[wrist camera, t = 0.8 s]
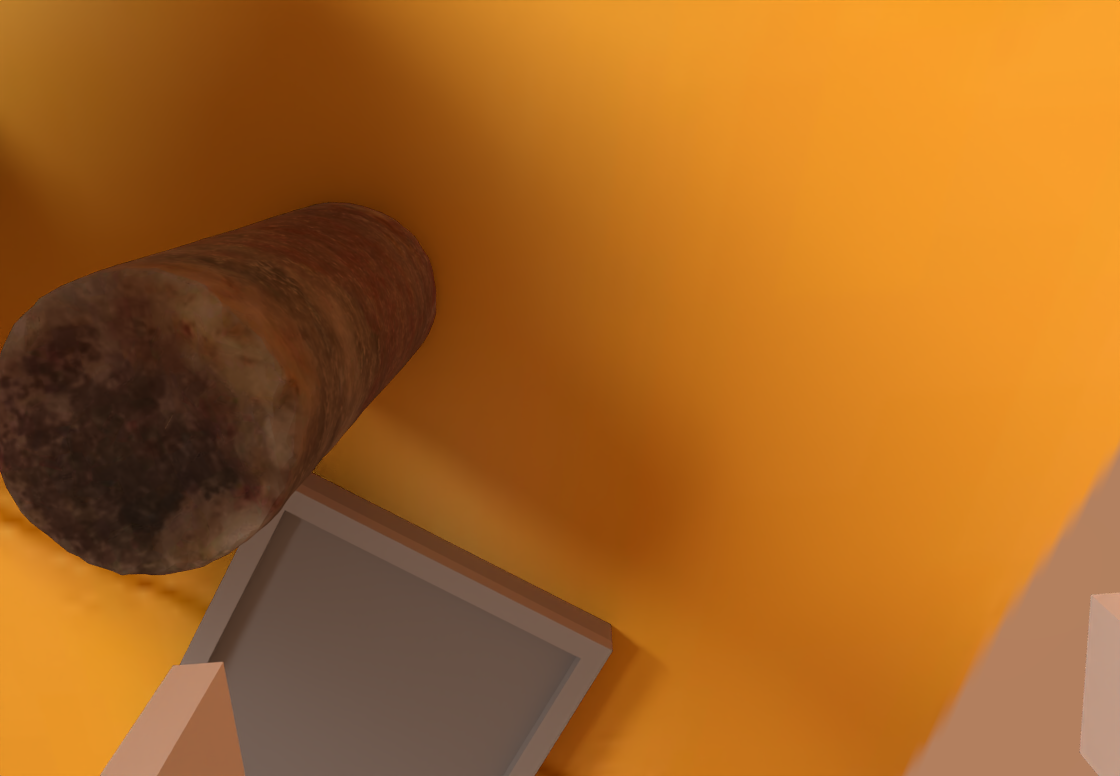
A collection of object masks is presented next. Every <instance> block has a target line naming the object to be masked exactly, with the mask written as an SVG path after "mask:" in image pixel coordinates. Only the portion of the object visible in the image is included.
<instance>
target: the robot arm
mask: <svg viewBox="0 0 1120 776" xmlns="http://www.w3.org/2000/svg"><path fill="white" fill-rule="evenodd" d="M1080 754H1081V755H1082V756H1083V757H1084V759H1085V760H1086V761H1087V762H1088V763H1089V765H1090V766H1091V767H1092V768H1093V769H1094V771H1095V772H1096V773H1097V774H1098V776H1120V593H1108V594H1094V595H1091V600H1090V614H1089V628H1088V643H1087V655H1086V669H1085V683H1084V697H1083V711H1082V725H1081V739H1080ZM100 776H245V772H244V767H243V761H242V756H241V751H240V746H239V741H238V736H237V730H236V725H235V720H234V715H233V710H232V705H231V699H230V694H229V689H228V684H227V679H226V673H225V668H224V663H223V662H213V663H200V664H187V665H174V666H172V668H171V669H170V671H169V672H168V674H167V675H166V677H165V678H164V680H163V681H162V683H161V684H160V686H159V687H158V689H157V690H156V692H155V694H154V695H153V697H152V698H151V700H150V701H149V703H148V704H147V706H146V707H145V709H144V710H143V712H142V713H141V715H140V716H139V718H138V719H137V721H136V722H135V724H134V725H133V727H132V728H131V730H130V731H129V733H128V734H127V736H126V737H125V739H124V740H123V742H122V743H121V745H120V746H119V748H118V749H117V751H116V752H115V754H114V755H113V757H112V758H111V760H110V761H109V763H108V764H107V766H106V767H105V769H104V770H103V772H102V773H101V775H100Z"/></svg>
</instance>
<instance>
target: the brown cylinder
mask: <svg viewBox="0 0 1120 776" xmlns="http://www.w3.org/2000/svg"><path fill="white" fill-rule="evenodd" d="M435 314H436V288H435V282H434V276H433V270H432V267H431V263H430V260H429V257H428V256H427V255H426V253H425V252H424V250H423V249H422V247H421V246H420V244H419V242H418V241H417V239H416V238H415V236H414V235H413V234H412V233H410V232H409V231H408V230H407V229H406V228H404V227H403V226H402V225H400V224H399V223H398V222H397V221H396V220H394V219H393V218H391V217H389V216H387V215H385V214H383V213H381V212H378V211H375V210H372V209H370V208H367V207H364V206H360V205H355V204H350V203H332V202H328V203H321V204H315V205H312V206H309V207H306V208H302V209H298V210H294V211H291V212H289V213H286V214H282V215H279V216H275V217H272V218H269V219H266V220H263V221H260V222H257V223H254V224H251V225H248V226H245V227H242V228H239V229H236V230H233V231H229V232H226V233H223V234H219V235H216V236H213V237H209V238H205V239H202V240H199V241H196V242H193V243H190V244H187V245H184V246H180V247H177V248H174V249H170V250H167V251H164V252H161V253H157V254H154V255H150V256H147V257H143V258H140V259H137V260H133V261H130V262H126V263H123V264H119V265H116V266H113V267H110V268H106V269H103V270H100V271H97V272H94V273H92V274H90V275H87V276H85V277H82V278H80V279H77V280H75V281H72V282H70V283H67V284H65V285H63V286H60V287H59V288H57V289H55V290H53V291H52V292H50V293H48V294H46V295H45V296H43V297H41V298H39V300H38V301H37V302H36V303H35V305H34V306H33V307H32V308H31V309H29V310H28V311H27V312H26V313H25V314H24V315H23V316H22V317H21V318H20V319H19V320H18V321H17V322H16V323H15V324H14V326H13V328H12V330H11V332H10V334H9V336H8V338H7V340H6V342H5V344H4V347H3V349H2V351H1V354H0V472H1V474H2V477H3V480H4V482H5V485H6V488H7V489H8V491H9V493H10V494H11V496H12V497H13V499H14V501H15V502H16V504H17V505H18V507H19V509H20V511H21V512H22V513H23V514H24V516H25V517H26V518H27V519H28V520H29V521H30V522H31V523H32V524H34V525H35V526H36V527H38V528H39V529H40V530H41V531H43V532H44V533H45V534H47V535H48V536H49V537H50V538H52V539H53V540H54V541H55V542H57V543H58V544H59V545H60V546H61V547H63V548H64V549H65V550H66V551H68V552H69V553H72V554H74V555H76V556H79V557H80V558H82V559H83V560H84V561H86V562H87V563H89V564H92V565H95V566H98V567H101V568H105V569H108V570H111V571H114V572H116V573H118V574H120V575H127V574H148V575H166V574H171V573H176V572H181V571H186V570H191V569H195V568H200V567H203V566H205V565H207V564H209V563H210V562H212V561H214V560H216V559H219V558H221V557H223V556H225V555H227V554H229V553H230V552H232V551H233V550H235V549H236V548H237V547H239V546H240V545H242V544H243V543H245V542H246V541H248V540H249V539H250V538H251V537H253V536H254V535H255V534H256V533H257V532H258V531H259V530H261V529H262V528H263V527H265V526H266V525H267V524H268V523H269V522H270V521H271V520H272V519H273V518H274V517H275V516H276V515H277V514H278V513H279V512H280V511H281V509H282V508H283V506H284V505H285V503H286V502H287V500H288V499H289V498H290V496H291V495H292V494H293V493H294V492H295V491H296V489H297V488H298V487H299V486H300V485H301V484H302V483H303V482H304V481H305V480H306V478H307V477H308V476H309V475H310V473H311V472H312V471H313V470H314V468H315V467H316V466H317V465H318V463H319V462H320V461H321V459H322V458H323V457H324V456H325V455H326V454H327V453H328V452H329V451H330V450H331V449H332V448H333V447H334V446H335V445H336V443H337V442H338V441H339V439H340V438H341V437H342V436H343V434H344V433H345V432H346V431H347V430H348V429H349V428H350V427H351V425H352V424H353V423H354V422H355V421H356V420H357V418H358V417H359V416H360V414H361V413H362V412H363V410H364V409H365V408H366V407H367V406H368V405H369V404H370V403H371V402H372V401H373V400H374V398H375V397H376V396H377V395H378V394H379V393H380V392H381V391H382V390H383V389H384V388H385V387H386V385H387V384H388V383H389V382H390V381H391V380H392V379H393V378H394V376H395V375H396V374H397V373H398V372H399V371H400V370H401V369H402V368H403V367H404V365H405V364H406V363H407V362H408V361H409V359H410V358H411V357H412V356H413V355H414V353H415V352H416V351H417V350H418V349H419V347H420V346H421V344H422V343H423V342H424V340H425V339H426V337H427V335H428V334H429V331H430V329H431V326H432V324H433V322H434V318H435Z"/></svg>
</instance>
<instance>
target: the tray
mask: <svg viewBox="0 0 1120 776" xmlns="http://www.w3.org/2000/svg"><path fill="white" fill-rule="evenodd" d="M612 651H613V646H612V631H611V624H609V623H607V622H605V621H603V620H601V619H599V618H597V617H595V616H593V615H591V614H589V613H587V612H585V611H583V610H581V609H579V608H577V607H575V606H573V605H571V604H569V603H567V602H565V601H563V600H561V599H559V598H557V597H555V596H554V595H552V594H550V593H548V592H546V591H544V590H542V589H540V588H538V587H536V586H534V585H532V584H530V583H528V582H526V581H524V580H522V579H520V578H518V577H516V576H514V575H512V574H510V573H508V572H506V571H504V570H502V569H500V568H498V567H496V566H494V565H492V564H490V563H489V562H487V561H485V560H483V559H481V558H479V557H477V556H475V555H473V554H471V553H469V552H467V551H465V550H463V549H461V548H459V547H457V546H455V545H453V544H451V543H449V542H447V541H445V540H443V539H441V538H439V537H437V536H435V535H433V534H431V533H429V532H427V531H426V530H424V529H422V528H420V527H418V526H416V525H414V524H412V523H410V522H408V521H406V520H404V519H402V518H400V517H398V516H396V515H394V514H392V513H390V512H388V511H386V510H384V509H382V508H380V507H378V506H376V505H374V504H372V503H370V502H368V501H366V500H364V499H362V498H361V497H359V496H357V495H355V494H353V493H351V492H349V491H347V490H345V489H343V488H341V487H339V486H337V485H335V484H333V483H331V482H329V481H327V480H325V479H323V478H321V477H319V476H317V475H315V474H313V473H310V475H309V476H308V477H307V478H306V480H305V481H304V482H303V483H302V484H301V485H300V486H299V487H298V488H297V489H296V491H295V492H294V493H293V494H292V495H291V496H290V498H289V499H288V500H287V502H286V503H285V505H284V506H283V508H282V509H281V511H280V512H279V513H278V514H277V515H276V516H275V517H274V518H273V519H272V520H271V521H270V522H269V523H268V524H267V525H266V526H265V527H263V528H262V529H261V530H259V531H258V532H257V533H256V534H255V535H254V536H253V537H251V538H250V539H249V540H248V541H246V542H245V543H243V544H242V545H240V546H239V547H238V549H237V551H236V553H235V555H234V557H233V559H232V561H231V563H230V565H229V567H228V569H227V571H226V573H225V575H224V577H223V579H222V581H221V583H220V585H219V587H218V589H217V591H216V593H215V595H214V597H213V599H212V601H211V603H210V605H209V607H208V609H207V611H206V613H205V615H204V617H203V619H202V621H201V623H200V625H199V627H198V629H197V631H196V633H195V635H194V637H193V639H192V641H191V643H190V645H189V647H188V649H187V651H186V653H185V655H184V657H183V659H182V661H181V663H180V665H187V664H200V663H213V662H223V663H224V668H225V673H226V679H227V684H228V689H229V694H230V699H231V705H232V710H233V715H234V720H235V725H236V730H237V736H238V741H239V746H240V751H241V756H242V761H243V767H244V772H245V776H535V774H536V773H537V771H538V770H539V768H540V766H541V765H542V763H543V762H544V760H545V758H546V757H547V755H548V754H549V752H550V750H551V749H552V747H553V746H554V744H555V742H556V741H557V739H558V738H559V736H560V734H561V733H562V731H563V730H564V728H565V726H566V725H567V723H568V722H569V720H570V718H571V717H572V715H573V714H574V712H575V710H576V709H577V707H578V705H579V704H580V702H581V701H582V699H583V697H584V696H585V694H586V693H587V691H588V689H589V688H590V686H591V685H592V683H593V681H594V680H595V678H596V677H597V675H598V673H599V672H600V670H601V669H602V667H603V665H604V664H605V662H606V661H607V659H608V657H609V656H610V654H611V653H612Z"/></svg>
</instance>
